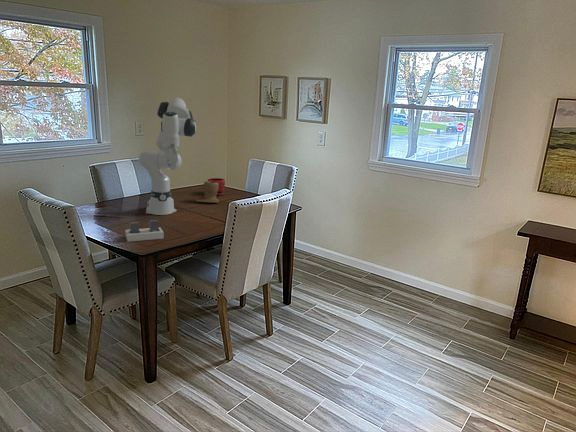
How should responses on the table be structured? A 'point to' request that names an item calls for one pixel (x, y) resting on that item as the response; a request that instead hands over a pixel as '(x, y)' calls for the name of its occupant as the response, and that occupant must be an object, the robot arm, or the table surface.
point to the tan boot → (209, 193)
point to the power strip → (142, 233)
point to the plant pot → (221, 184)
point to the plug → (154, 226)
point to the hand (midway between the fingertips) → (171, 168)
